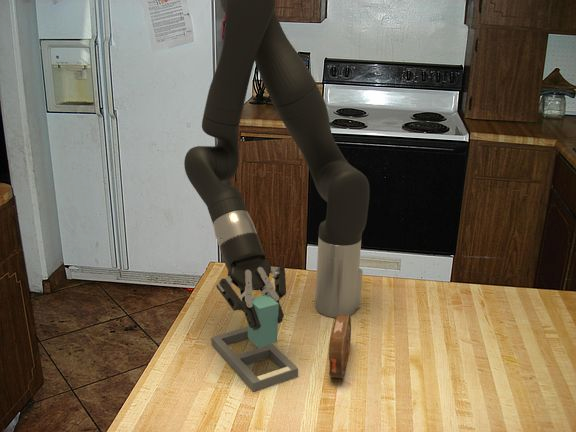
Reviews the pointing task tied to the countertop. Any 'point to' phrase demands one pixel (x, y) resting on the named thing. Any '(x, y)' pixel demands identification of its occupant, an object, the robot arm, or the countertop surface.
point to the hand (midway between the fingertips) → (268, 325)
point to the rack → (253, 360)
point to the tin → (340, 346)
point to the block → (265, 321)
